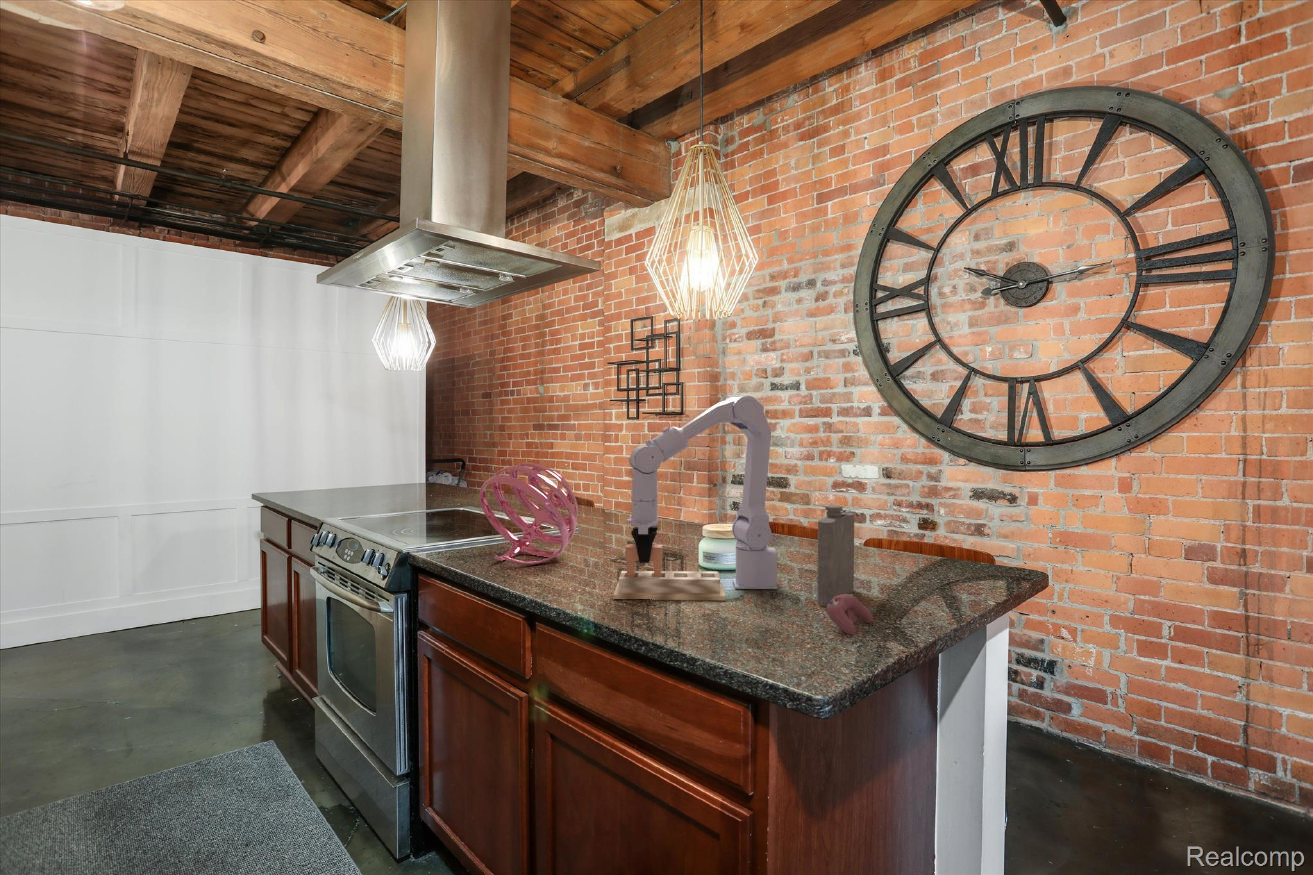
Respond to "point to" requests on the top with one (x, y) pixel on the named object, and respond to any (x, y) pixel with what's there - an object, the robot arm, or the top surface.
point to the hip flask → (835, 554)
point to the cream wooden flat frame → (670, 586)
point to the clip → (633, 556)
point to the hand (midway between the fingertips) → (644, 560)
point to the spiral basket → (532, 510)
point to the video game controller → (847, 612)
